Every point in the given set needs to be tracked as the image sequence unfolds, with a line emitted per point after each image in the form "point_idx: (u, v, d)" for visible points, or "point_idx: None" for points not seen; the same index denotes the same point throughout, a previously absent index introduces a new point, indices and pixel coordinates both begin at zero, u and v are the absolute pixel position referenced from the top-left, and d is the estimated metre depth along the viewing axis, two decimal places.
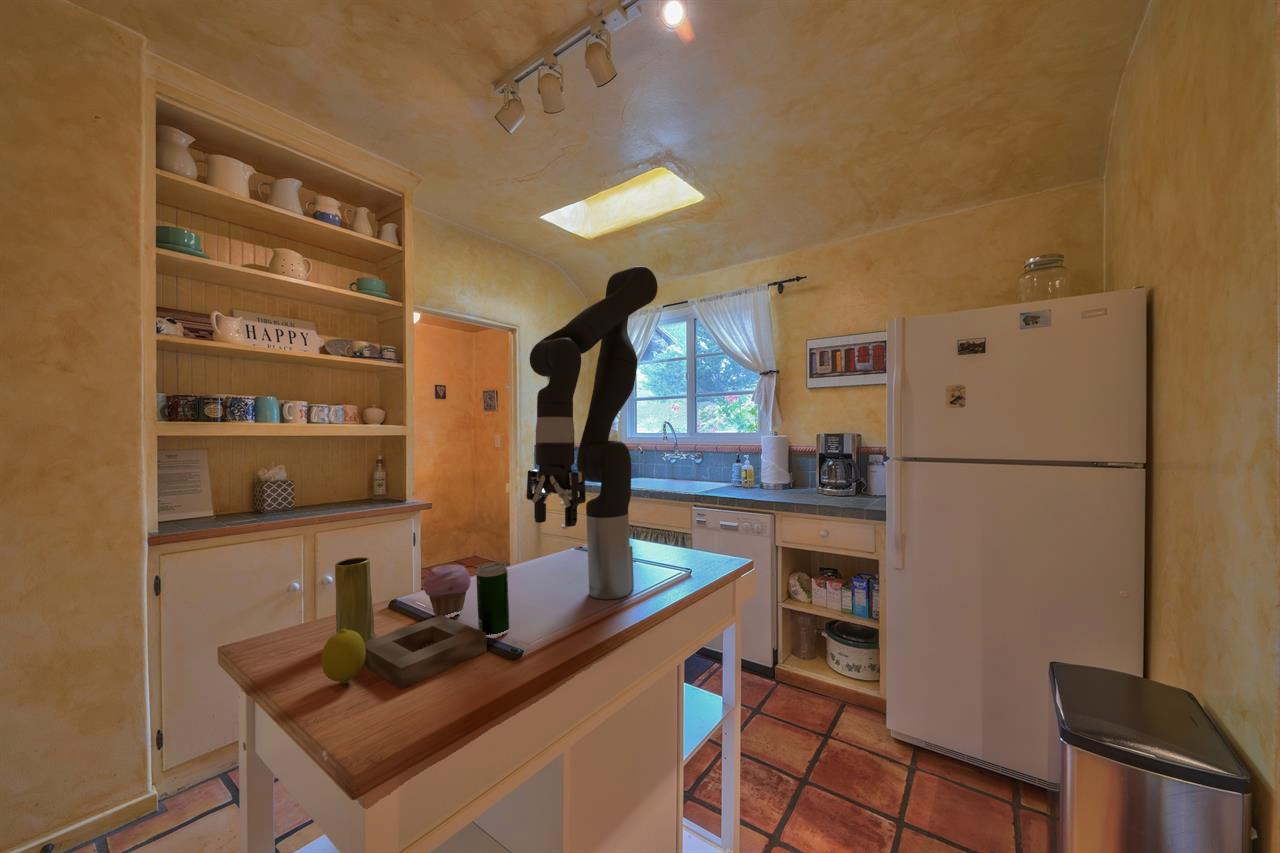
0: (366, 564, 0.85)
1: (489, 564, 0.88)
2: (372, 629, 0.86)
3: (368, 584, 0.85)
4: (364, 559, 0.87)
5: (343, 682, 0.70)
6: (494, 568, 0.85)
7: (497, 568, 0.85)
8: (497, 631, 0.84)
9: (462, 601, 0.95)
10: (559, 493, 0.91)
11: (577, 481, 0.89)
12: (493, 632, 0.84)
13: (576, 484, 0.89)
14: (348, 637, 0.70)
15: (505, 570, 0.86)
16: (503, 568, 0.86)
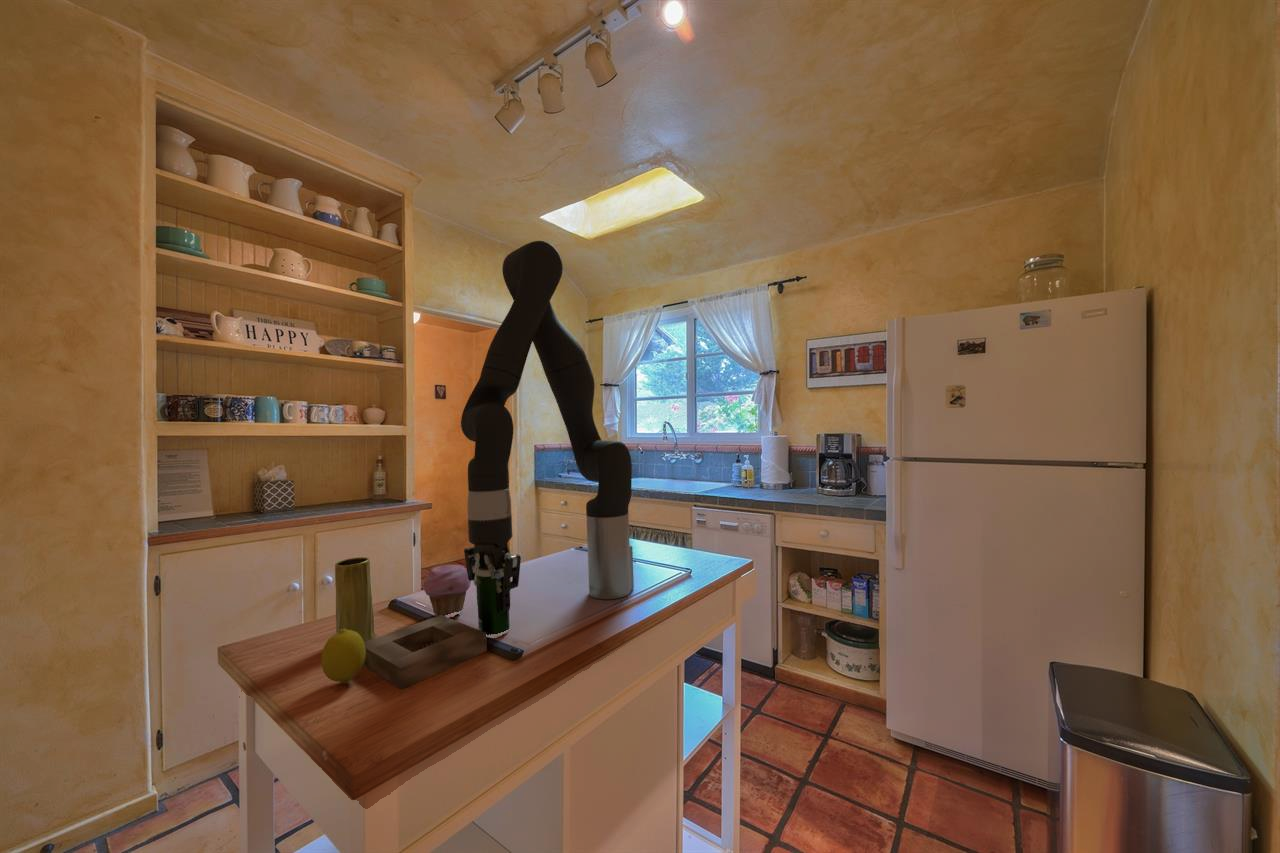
0: (366, 564, 0.85)
1: None
2: (372, 629, 0.86)
3: (368, 584, 0.85)
4: (364, 559, 0.87)
5: (343, 682, 0.70)
6: None
7: None
8: (497, 631, 0.84)
9: (462, 601, 0.95)
10: (491, 576, 0.84)
11: (510, 568, 0.82)
12: (493, 632, 0.84)
13: (509, 571, 0.82)
14: (348, 637, 0.70)
15: None
16: (503, 568, 0.86)
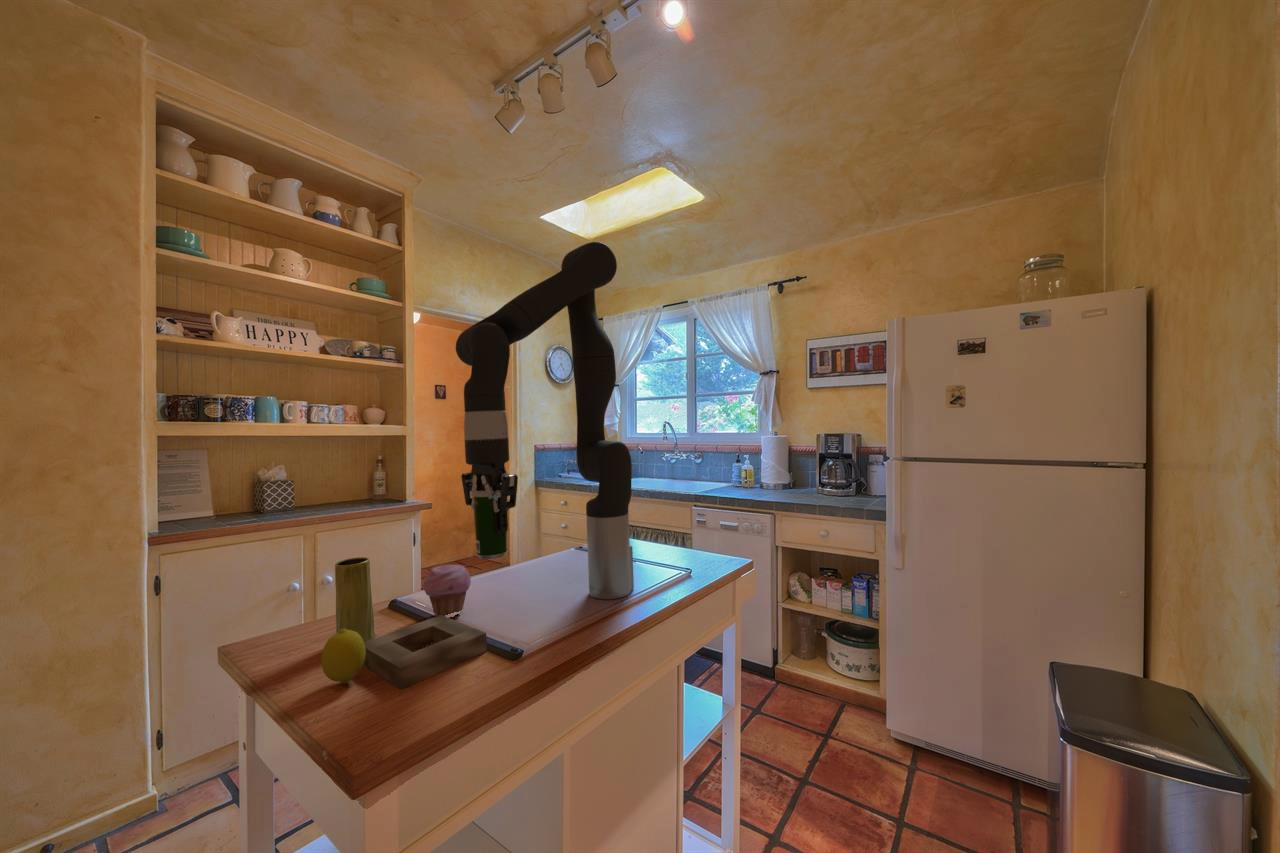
0: (366, 564, 0.85)
1: None
2: (372, 629, 0.86)
3: (368, 584, 0.85)
4: (364, 559, 0.87)
5: (343, 682, 0.70)
6: None
7: None
8: (495, 551, 0.84)
9: (462, 601, 0.95)
10: (488, 496, 0.84)
11: (507, 486, 0.82)
12: (491, 552, 0.84)
13: (506, 489, 0.82)
14: (348, 637, 0.70)
15: None
16: (500, 490, 0.86)
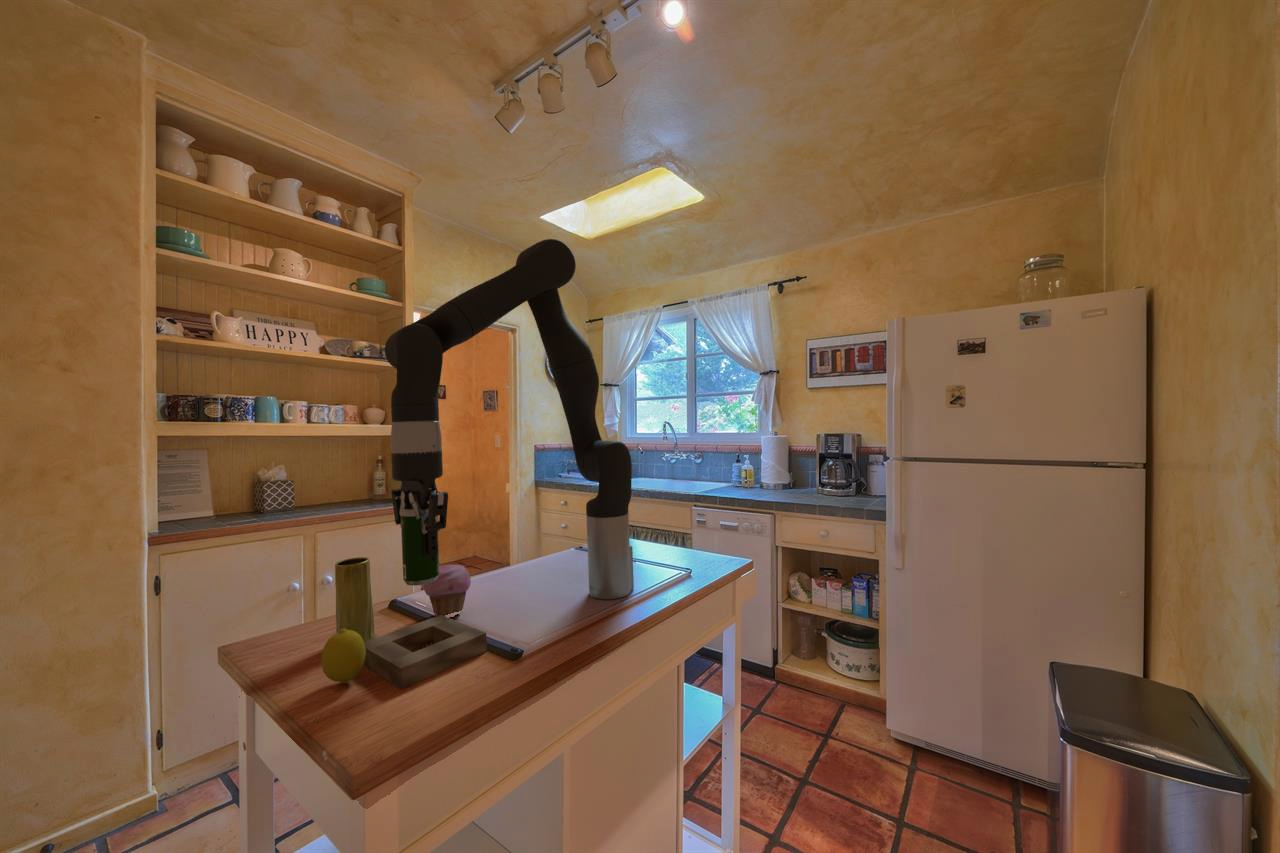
0: (366, 564, 0.85)
1: None
2: (372, 629, 0.86)
3: (368, 584, 0.85)
4: (364, 559, 0.87)
5: (343, 682, 0.70)
6: None
7: None
8: (423, 577, 0.76)
9: (462, 601, 0.95)
10: (416, 516, 0.76)
11: (435, 505, 0.74)
12: (418, 578, 0.76)
13: (433, 509, 0.74)
14: (348, 637, 0.70)
15: None
16: None
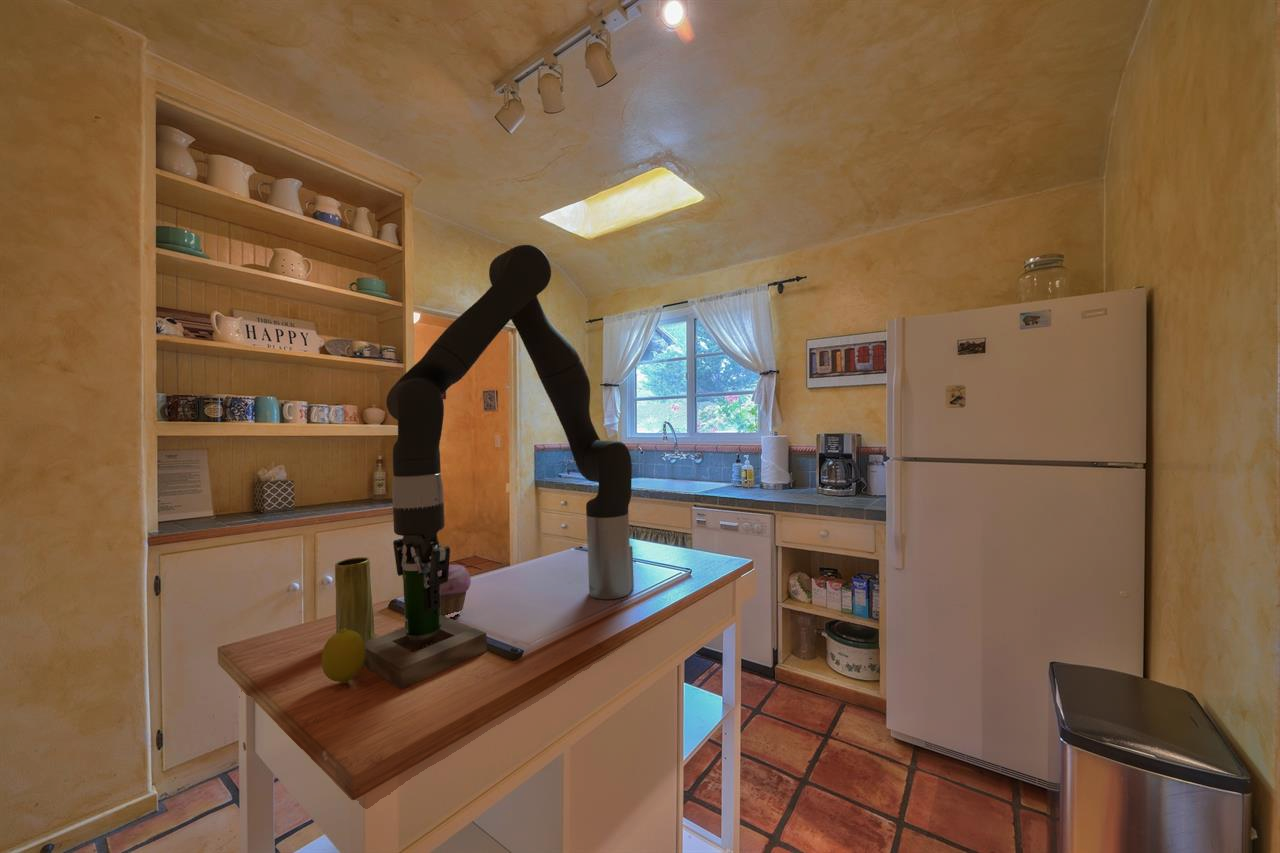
0: (366, 564, 0.85)
1: None
2: (372, 629, 0.86)
3: (368, 584, 0.85)
4: (364, 559, 0.87)
5: (343, 682, 0.70)
6: None
7: None
8: (425, 631, 0.76)
9: (462, 601, 0.95)
10: (418, 570, 0.76)
11: (437, 561, 0.74)
12: (420, 632, 0.76)
13: (435, 565, 0.74)
14: (348, 637, 0.70)
15: None
16: None
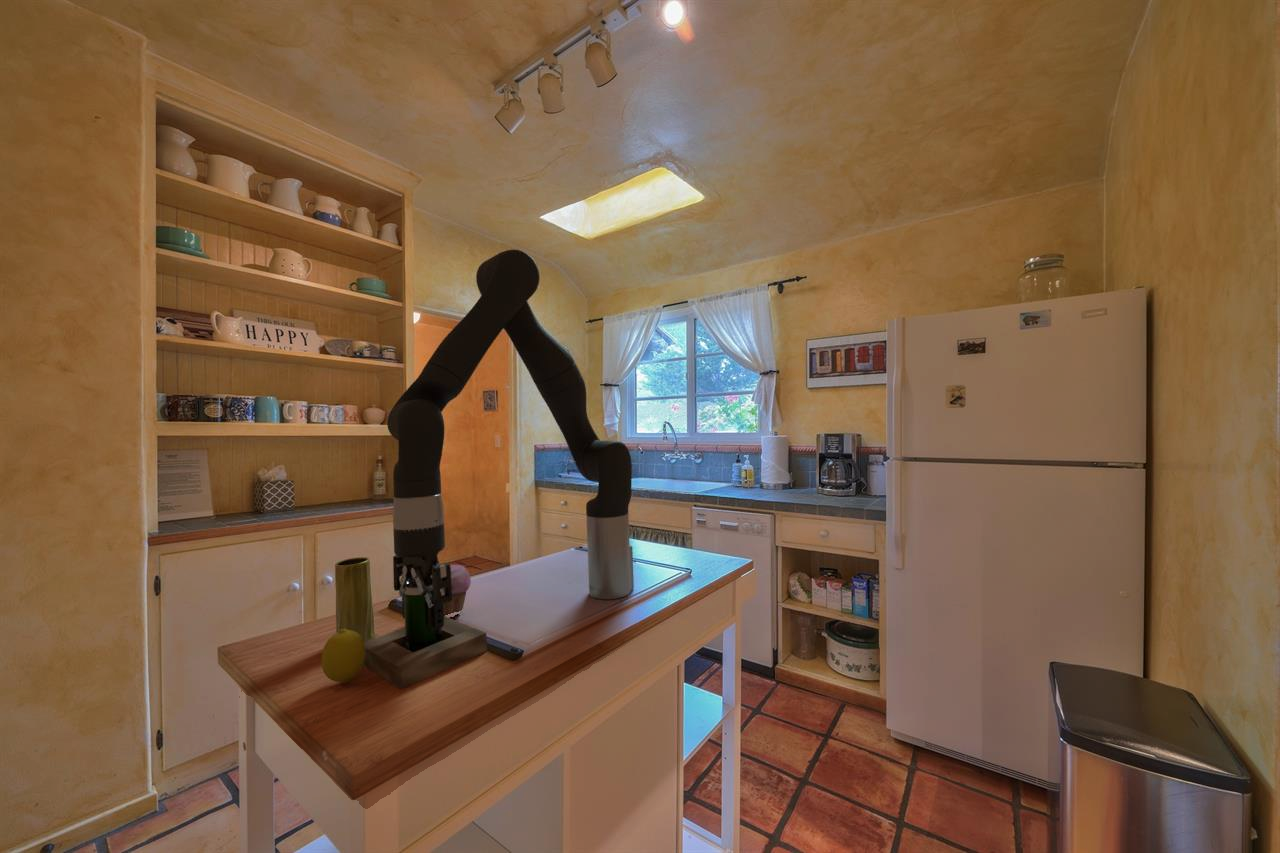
0: (366, 564, 0.85)
1: None
2: (372, 629, 0.86)
3: (368, 584, 0.85)
4: (364, 559, 0.87)
5: (343, 682, 0.70)
6: None
7: None
8: None
9: (462, 601, 0.95)
10: (420, 590, 0.75)
11: (439, 578, 0.74)
12: None
13: (437, 582, 0.73)
14: (348, 637, 0.70)
15: None
16: None
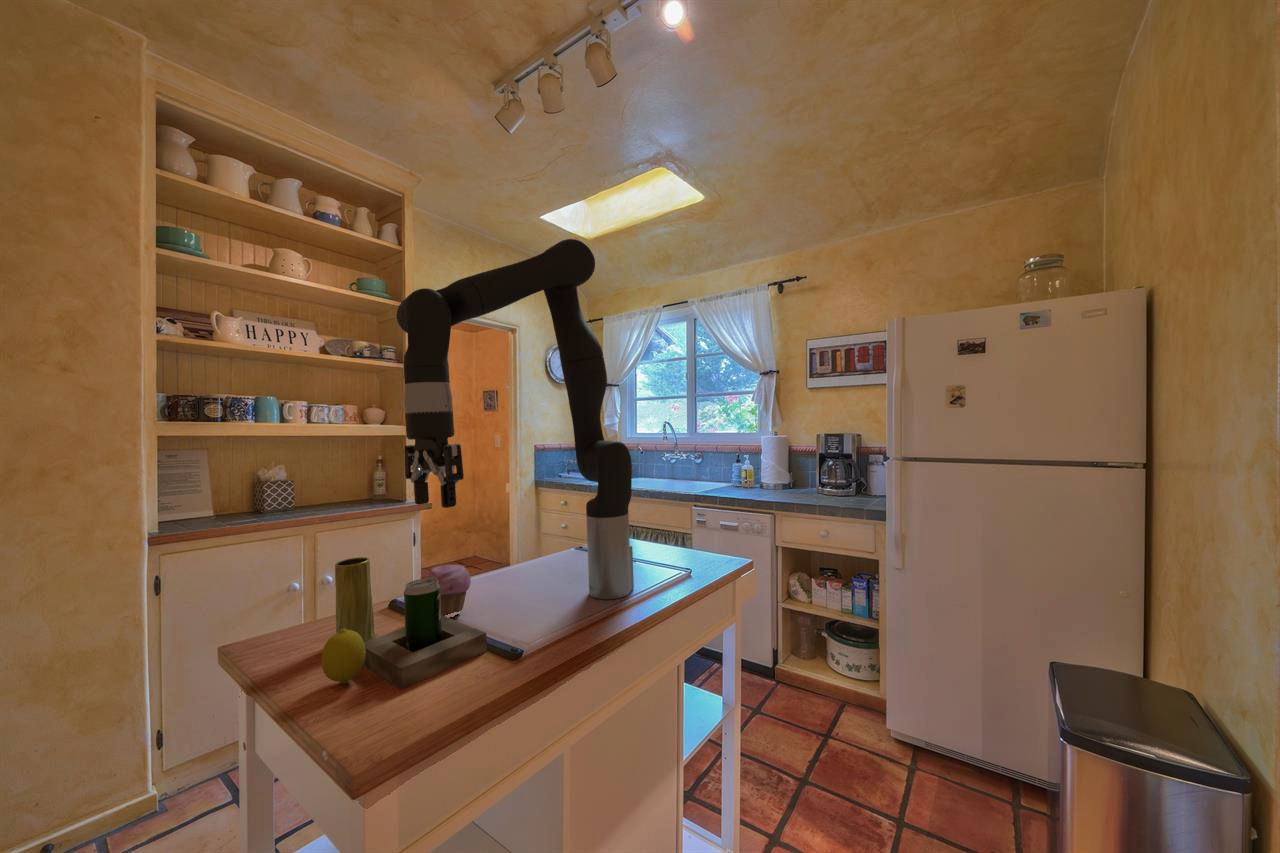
0: (366, 564, 0.85)
1: (420, 580, 0.80)
2: (372, 629, 0.86)
3: (368, 584, 0.85)
4: (364, 559, 0.87)
5: (343, 682, 0.70)
6: (423, 585, 0.77)
7: (427, 585, 0.77)
8: None
9: (462, 601, 0.95)
10: (433, 470, 0.79)
11: (450, 455, 0.77)
12: None
13: (449, 459, 0.77)
14: (348, 637, 0.70)
15: (436, 587, 0.78)
16: (434, 585, 0.78)
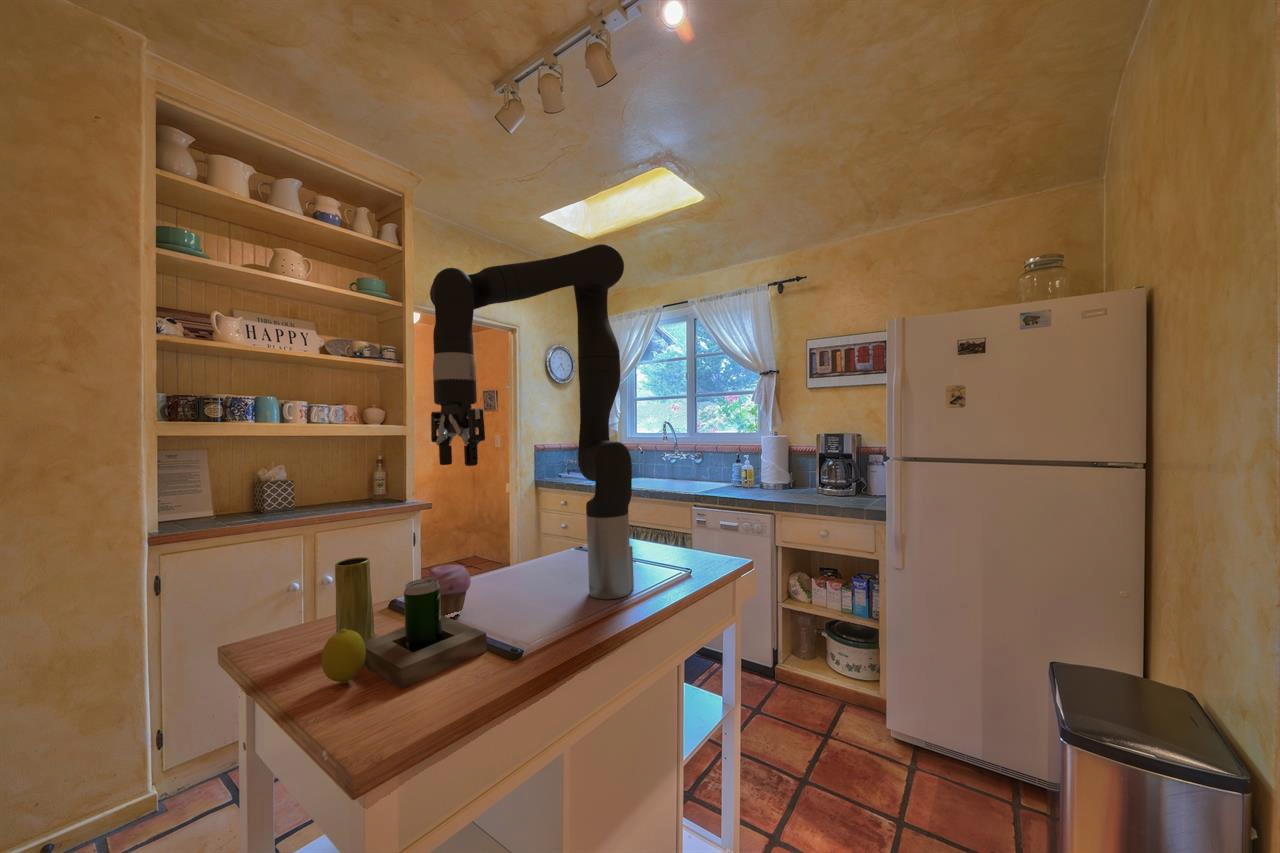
0: (366, 564, 0.85)
1: (420, 580, 0.80)
2: (372, 629, 0.86)
3: (368, 584, 0.85)
4: (364, 559, 0.87)
5: (343, 682, 0.70)
6: (423, 585, 0.77)
7: (427, 585, 0.77)
8: None
9: (462, 601, 0.95)
10: (457, 431, 0.88)
11: (474, 418, 0.86)
12: None
13: (472, 421, 0.86)
14: (348, 637, 0.70)
15: (436, 587, 0.78)
16: (434, 585, 0.78)
